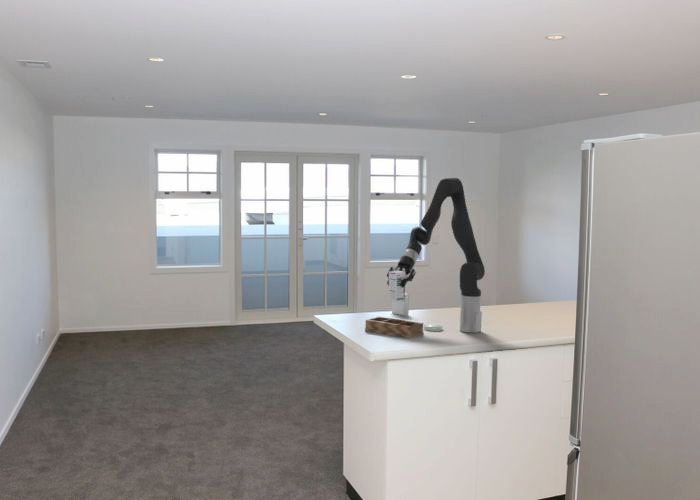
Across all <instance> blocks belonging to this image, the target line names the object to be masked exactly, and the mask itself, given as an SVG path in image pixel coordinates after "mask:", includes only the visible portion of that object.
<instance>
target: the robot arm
mask: <svg viewBox="0 0 700 500" xmlns="http://www.w3.org/2000/svg"><path fill="white" fill-rule="evenodd" d="M447 198H451V201H452V205H453V212H452V217H451V221H450V222H451V223H450V225H451V230H452V233H453V236H454V240H455V241H456V243H457V244H458V245H459V247H460V248H461V250H462V252H463V254H464V257H465V259H466V262H464V263H463V264H461V267H460V271H459V289H460V292H461V293H460V315H459V317H460V319H459V331H460V332H463V333H470V334H471V333H474V334H478V333H479V332H481V331H482V317H483V315H482V313H483V311H482V310H481V301H482V300H481V299H482V290H481V289H480V288H479V286H478V281H480V280H482V279H483V278H484V276H485V272H486V270H485V266H484V265H485V264H484V263H483V260H482V258H481V257H482V256H481V255H480V253H479V249H478V246H477V241H476V238H475V235H474V229H473V226H472V223H471V219H470V217H469V211H468V207H467V203H466V198H465V192H464V186H463V182H462V181H461V180H460V178H458V177H444V178H442V179H440V180H439V182H438V184H437V186H436V189H435V192H434V195H433V197H432V199H431V203H430V205H429V207H428V209H427V211H426V212H425V213H424V216H423V218H422V219H421V221H420V225H421V227H422V228H421V227H420V226H414V227H413V228H412V229H411V231H410V233H409V235H410V236H409V241H408V244H407V246H406V248H405V249H404V251H403V253H402V255H401V257H400V259H399V260H398V262H397V266H396V267H393V266H390V268H389V270H388V272H387V274H386V277H387V281H386V283H387V286H388V287H389V271H404V272H405V276H404V279H403V281H402V283H401V287H402V288H403V287H404V286H405V287H406V285H407V284H408V282H412V281H413V279H414V277H415V275H416V274H417V272H416V270H415V268H414V267H415V264H416V262H417V260H418V258H419V256H420V253H421V251H422V249H423V248H422V246H426V245H429V243H430V241H431V239H432V235H433V230H434V228H435V226H436V224H437V223H438V222H439V219H440V217H441V214H442V213H441V212H442V210H441V209H442V205H443V203H444V201H445V200H446V199H447Z"/></svg>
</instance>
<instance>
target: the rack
mask: <svg viewBox="0 0 700 500" xmlns="http://www.w3.org/2000/svg"><path fill="white" fill-rule="evenodd" d="M364 332H366V333H367V332H368V333H373V334H374V333H375V334H380V335H386V336H392V337H396V338H402V339H412V338H415V337H419V336H422V335H424V322H418V321H412V320H405V319H397V318H391V317H385V316H377V317H373V318H367V319H365V328H364Z"/></svg>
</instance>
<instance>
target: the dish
mask: <svg viewBox="0 0 700 500" xmlns="http://www.w3.org/2000/svg"><path fill="white" fill-rule="evenodd" d="M443 327H444V326H443V325H441V324H437V323H426V324H423V331H428V332H441V331H443Z"/></svg>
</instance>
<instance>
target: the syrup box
mask: <svg viewBox="0 0 700 500" xmlns="http://www.w3.org/2000/svg"><path fill="white" fill-rule="evenodd" d="M388 272H389V286H388V301H389V302H390V301H391V302H392V301H394V302H398V301H405V293H406V285H405V286H404V287H403V288H402V287H401V283H402V281H403V279H404V276H405V272H404V271H389V270H388Z"/></svg>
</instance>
